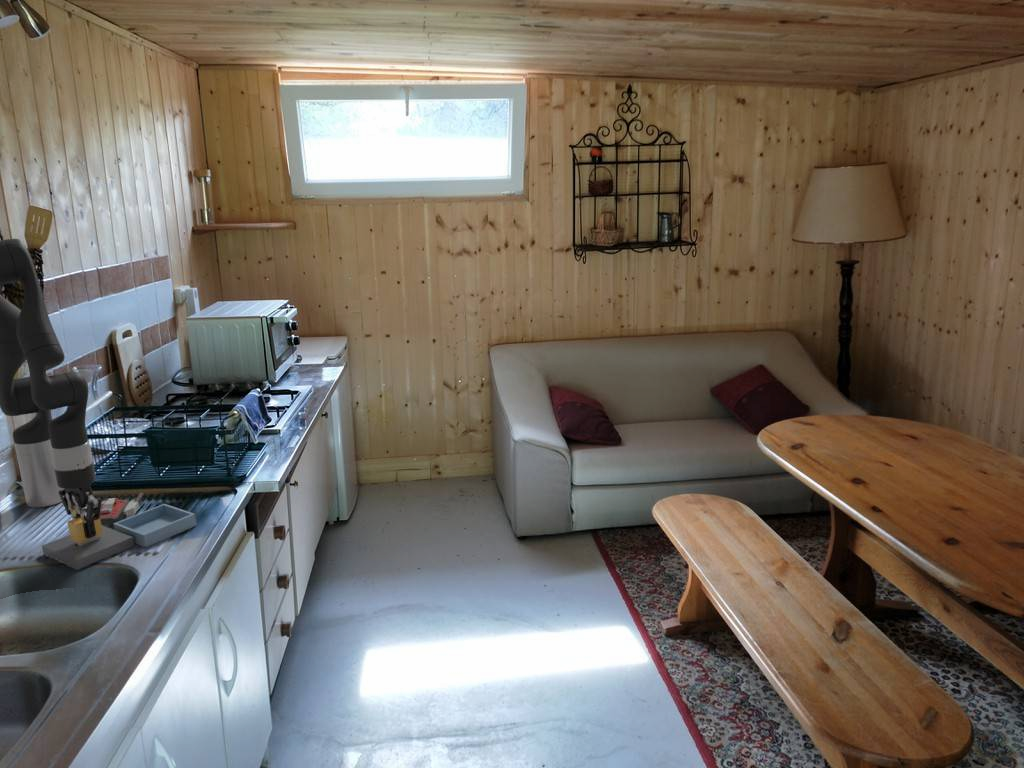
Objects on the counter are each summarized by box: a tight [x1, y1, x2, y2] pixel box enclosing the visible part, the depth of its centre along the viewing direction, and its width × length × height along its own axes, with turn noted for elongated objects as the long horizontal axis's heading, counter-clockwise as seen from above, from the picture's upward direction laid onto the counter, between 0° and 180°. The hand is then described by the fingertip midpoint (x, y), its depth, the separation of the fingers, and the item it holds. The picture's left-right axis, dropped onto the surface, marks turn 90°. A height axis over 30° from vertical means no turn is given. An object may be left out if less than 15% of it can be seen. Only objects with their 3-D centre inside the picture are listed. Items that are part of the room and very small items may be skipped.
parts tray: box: [113, 503, 197, 548], centre depth 185 cm, size 12×13×3 cm
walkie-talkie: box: [100, 491, 144, 529], centre depth 195 cm, size 9×4×20 cm
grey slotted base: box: [41, 525, 135, 571], centre depth 176 cm, size 14×13×2 cm
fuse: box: [67, 514, 103, 547], centre depth 176 cm, size 3×6×7 cm, turn 147°
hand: (86, 534), depth 176 cm, fingers closed on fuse, 2 cm apart
